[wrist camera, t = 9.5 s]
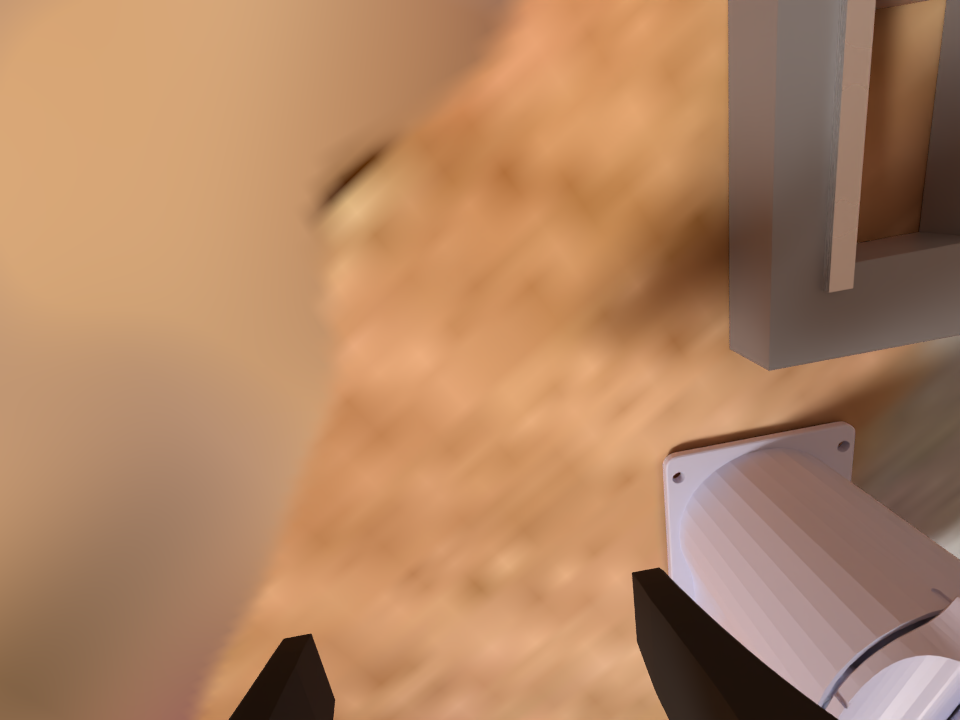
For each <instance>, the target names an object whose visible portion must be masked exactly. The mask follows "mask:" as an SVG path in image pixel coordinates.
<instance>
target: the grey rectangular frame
mask: <svg viewBox="0 0 960 720" xmlns="http://www.w3.org/2000/svg"><path fill="white" fill-rule="evenodd" d="M921 1H927V0H728V28H729V320H730V349H731V350H733V351H734V352H736V353H738V354H740V355H742V356H743V357H745V358H747V359H749V360H751V361H752V362H754V363H756V364H758V365H760V366H761V367H763V368H765V369H767V370H769V371H770V370H775V369H781V368H786V367H791V366H797V365H802V364H807V363H813V362H818V361H823V360H829V359H834V358H839V357H845V356H850V355H855V354H861V353H866V352H871V351H877V350H882V349H887V348H893V347H898V346H903V345H909V344H914V343H919V342H925V341H930V340H935V339H941V338H946V337H951V336H957V335H960V0H947V1H946V9H945V18H944V26H943V34H942V43H941V51H940V60H939V68H938V76H937V85H936V93H935V102H934V110H933V118H932V127H931V135H930V144H929V152H928V160H927V169H926V177H925V186H924V194H923V202H922V211H921V219H920V228H919V232H915V233H910V234H904V235H899V236H893V237H888V238H883V239H877V240H872V241H866V242H861V243H857V232H858V220H859V207H860V195H861V182H862V169H863V157H864V144H865V132H866V119H867V106H868V94H869V81H870V69H871V56H872V43H873V31H874V18H875V10H876V9H881V8H887V7H893V6H899V5H904V4H910V3H916V2H921Z"/></svg>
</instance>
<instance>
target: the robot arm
mask: <svg viewBox="0 0 960 720" xmlns="http://www.w3.org/2000/svg"><path fill="white" fill-rule="evenodd" d="M841 442H842V444H841V445H840V446H838V445H839V444H840V443H841ZM854 443H855V429H854V427H853V426H852V425H850V424H848V423H846V422H844V421H838V422H833V423H828V424H822V425H817V426H812V427H807V428H801V429H796V430H791V431H786V432H780V433H775V434H770V435H764V436H759V437H754V438H749V439H743V440H738V441H733V442H728V443H722V444H717V445H712V446H706V447H701V448H696V449H691V450H685V451H680V452H675V453H672V454H669V455H668V456H667V457H666V458H665V459H664V461H663V479H664V497H665V516H666V534H667V552H668V571H669V576H668V575H667V574H666V573H665V572H664V571H663V570H662V569H660V568H654V569H649V570H643V571H638V572H633V573H632V579H633V593H634V606H635V620H636V634H637V643H638V645H639V648H640V651H641V654H642V656H643V659H644V662H645V665H646V667H647V670H648V673H649V675H650V678H651V681H652V683H653V686H654V689H655V691H656V693H657V695H658V698H659V700H660V702H661V704H662V706H663V708H664V710H665V712H666V714H667V716H668V718H669V720H960V559H958V558H957V557H955V556H954V555H953V554H951V553H950V552H948V551H947V550H946V549H944V548H943V547H941V546H940V545H939V544H937V543H936V542H934V541H933V540H932V539H930V538H929V537H927V536H926V535H925V534H923V533H922V532H920V531H919V530H918V529H916V528H915V527H913V526H912V525H911V524H909V523H908V522H906V521H905V520H904V519H902V518H901V517H899V516H898V515H897V514H895V513H894V512H892V511H891V510H890V509H888V508H887V507H885V506H884V505H883V504H881V503H880V502H878V501H877V500H876V499H874V498H873V497H871V496H870V495H869V494H867V493H866V492H864V491H863V490H862V489H860V488H859V487H857V486H856V485H855V484H853V483H852V482H851V477H852V466H853V455H854ZM678 472H681V473H680V475H679V476H678V477H676V478H673V476H674V475H675V474H676V473H678ZM334 705H335V698H334V696H333V693H332V690H331V687H330V684H329V682H328V679H327V676H326V673H325V670H324V668H323V665H322V662H321V659H320V656H319V654H318V651H317V648H316V645H315V642H314V640H313V637H312V634H306V635H301V636H296V637H291V638H285V639H283V641H282V642H281V643H280V645H279V646H278V648H277V649H276V651H275V652H274V653H273V655H272V656H271V658H270V659H269V661H268V662H267V664H266V665H265V667H264V668H263V670H262V671H261V673H260V674H259V676H258V677H257V679H256V680H255V682H254V683H253V685H252V686H251V688H250V689H249V691H248V692H247V694H246V695H245V697H244V698H243V700H242V701H241V703H240V704H239V705H238V707H237V708H236V710H235V711H234V713H233V714H232V715H231V717H230V718H229V720H333V716H334Z"/></svg>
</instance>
